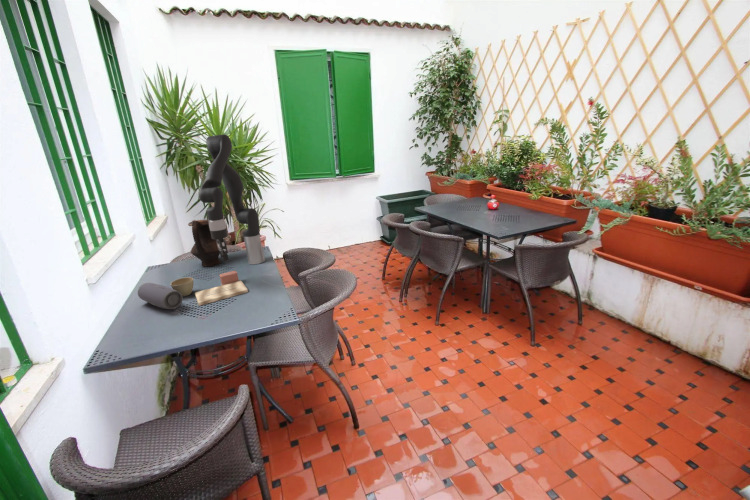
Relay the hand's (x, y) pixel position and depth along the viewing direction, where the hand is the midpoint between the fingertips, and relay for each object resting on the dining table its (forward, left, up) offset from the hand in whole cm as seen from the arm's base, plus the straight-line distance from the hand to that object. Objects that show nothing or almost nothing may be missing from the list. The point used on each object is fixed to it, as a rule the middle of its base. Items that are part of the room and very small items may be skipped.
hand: (224, 258), depth 174 cm
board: (+6, +10, -14) cm, 18 cm away
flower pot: (+21, -2, -14) cm, 25 cm away
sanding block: (0, 0, -14) cm, 14 cm away
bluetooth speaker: (+31, +5, -14) cm, 34 cm away
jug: (+4, -41, -14) cm, 43 cm away
